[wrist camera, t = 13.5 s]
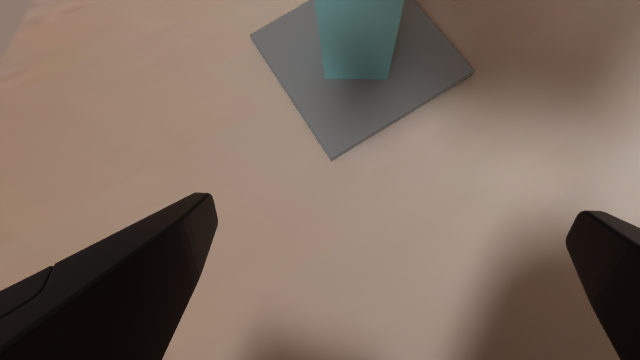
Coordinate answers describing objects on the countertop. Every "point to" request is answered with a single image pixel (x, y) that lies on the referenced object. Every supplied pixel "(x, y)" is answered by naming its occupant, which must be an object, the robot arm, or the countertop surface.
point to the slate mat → (359, 94)
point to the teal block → (358, 37)
